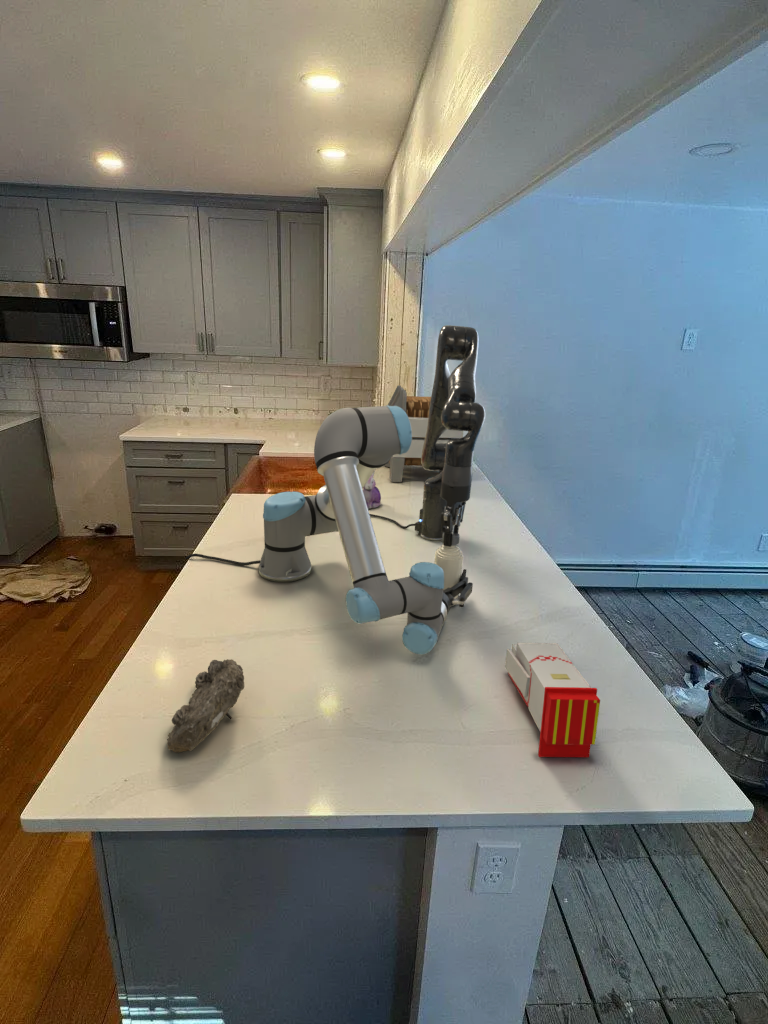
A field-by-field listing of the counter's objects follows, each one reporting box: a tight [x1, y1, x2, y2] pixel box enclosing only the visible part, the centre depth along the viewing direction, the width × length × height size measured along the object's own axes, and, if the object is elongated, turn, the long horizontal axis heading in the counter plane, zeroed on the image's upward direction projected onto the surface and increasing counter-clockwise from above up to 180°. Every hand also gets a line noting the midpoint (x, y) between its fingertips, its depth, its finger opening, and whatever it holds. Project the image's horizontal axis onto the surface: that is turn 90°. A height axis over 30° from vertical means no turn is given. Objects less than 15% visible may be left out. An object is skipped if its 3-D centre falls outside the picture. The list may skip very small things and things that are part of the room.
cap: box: [441, 532, 461, 546], centre depth 150 cm, size 4×4×2 cm
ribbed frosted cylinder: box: [433, 544, 464, 607], centre depth 153 cm, size 8×8×19 cm
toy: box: [504, 642, 601, 758], centre depth 113 cm, size 12×13×30 cm
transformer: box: [384, 384, 465, 483], centre depth 268 cm, size 34×33×41 cm
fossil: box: [166, 658, 245, 754], centre depth 106 cm, size 22×10×15 cm
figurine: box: [362, 470, 382, 510], centre depth 224 cm, size 9×10×15 cm
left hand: (450, 571), depth 158 cm, fingers closed on ribbed frosted cylinder, 7 cm apart
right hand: (450, 542), depth 150 cm, fingers closed on cap, 4 cm apart
